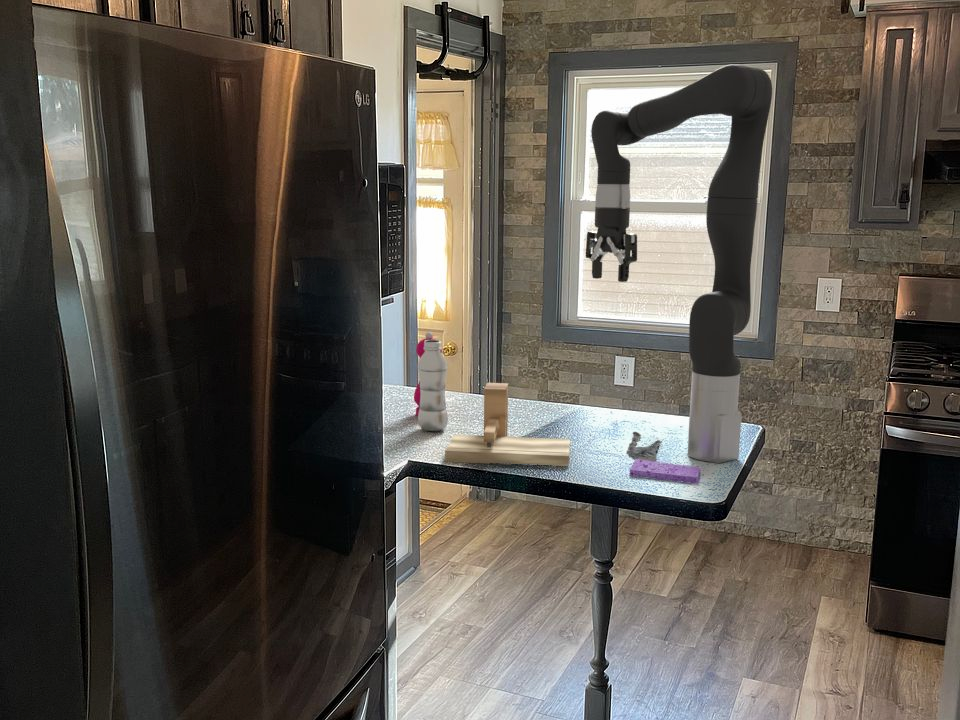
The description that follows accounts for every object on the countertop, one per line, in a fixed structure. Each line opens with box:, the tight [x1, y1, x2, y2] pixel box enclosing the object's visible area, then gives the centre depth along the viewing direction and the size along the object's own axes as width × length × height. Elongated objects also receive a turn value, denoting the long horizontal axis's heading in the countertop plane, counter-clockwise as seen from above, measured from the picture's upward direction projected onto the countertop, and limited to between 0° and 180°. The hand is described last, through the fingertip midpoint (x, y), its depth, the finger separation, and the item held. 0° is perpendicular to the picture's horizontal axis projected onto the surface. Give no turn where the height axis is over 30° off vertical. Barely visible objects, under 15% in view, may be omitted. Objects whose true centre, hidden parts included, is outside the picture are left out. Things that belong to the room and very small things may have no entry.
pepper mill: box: [413, 331, 443, 418], centre depth 204 cm, size 7×7×20 cm
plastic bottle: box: [417, 339, 449, 432], centre depth 191 cm, size 6×7×20 cm
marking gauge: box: [483, 382, 509, 448], centre depth 178 cm, size 18×4×12 cm, turn 174°
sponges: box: [629, 459, 701, 484], centre depth 164 cm, size 7×13×2 cm, turn 70°
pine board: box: [444, 434, 571, 467], centre depth 175 cm, size 12×24×2 cm, turn 83°
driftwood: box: [626, 431, 662, 462], centre depth 180 cm, size 21×7×2 cm, turn 164°
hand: (609, 280), depth 193 cm, fingers open, 8 cm apart
